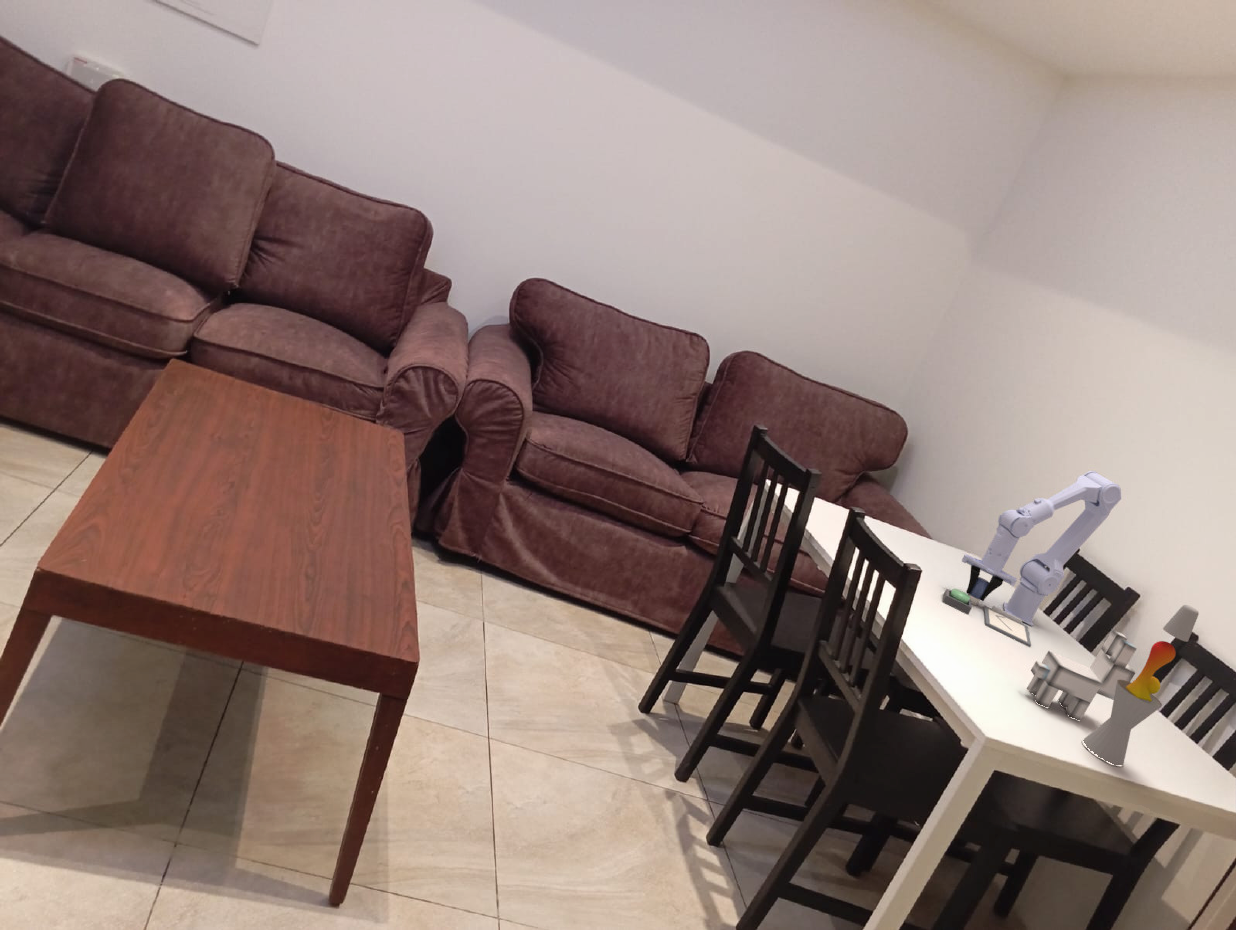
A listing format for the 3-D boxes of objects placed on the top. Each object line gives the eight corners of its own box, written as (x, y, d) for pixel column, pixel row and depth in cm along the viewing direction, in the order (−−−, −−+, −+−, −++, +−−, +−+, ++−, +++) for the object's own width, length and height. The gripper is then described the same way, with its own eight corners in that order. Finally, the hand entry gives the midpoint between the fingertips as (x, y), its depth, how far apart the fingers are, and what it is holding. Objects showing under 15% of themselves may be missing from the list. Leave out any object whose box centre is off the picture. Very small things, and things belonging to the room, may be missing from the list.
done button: (949, 593, 271) (952, 586, 271) (966, 601, 270) (970, 595, 270) (949, 598, 267) (952, 591, 266) (966, 606, 266) (970, 600, 265)
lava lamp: (1100, 763, 204) (1192, 614, 195) (1071, 735, 212) (1158, 591, 203) (1133, 770, 208) (1225, 624, 198) (1103, 743, 216) (1190, 601, 206)
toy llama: (1016, 684, 229) (1060, 608, 224) (1088, 713, 230) (1133, 638, 224) (1026, 700, 222) (1072, 621, 217) (1100, 730, 222) (1147, 653, 217)
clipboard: (983, 607, 277) (986, 602, 277) (1026, 627, 275) (1029, 622, 274) (984, 625, 262) (987, 619, 262) (1030, 647, 260) (1033, 641, 259)
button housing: (943, 594, 273) (946, 588, 273) (968, 606, 272) (971, 600, 271) (942, 602, 267) (946, 595, 266) (968, 614, 265) (971, 607, 264)
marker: (965, 597, 279) (977, 575, 277) (977, 603, 278) (989, 581, 276) (965, 601, 276) (977, 578, 274) (977, 607, 275) (989, 584, 273)
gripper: (972, 543, 271) (949, 587, 274) (1025, 568, 267) (1000, 612, 271) (972, 537, 277) (949, 580, 281) (1023, 562, 274) (999, 605, 278)
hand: (974, 596), depth 276 cm, fingers closed on marker, 3 cm apart
